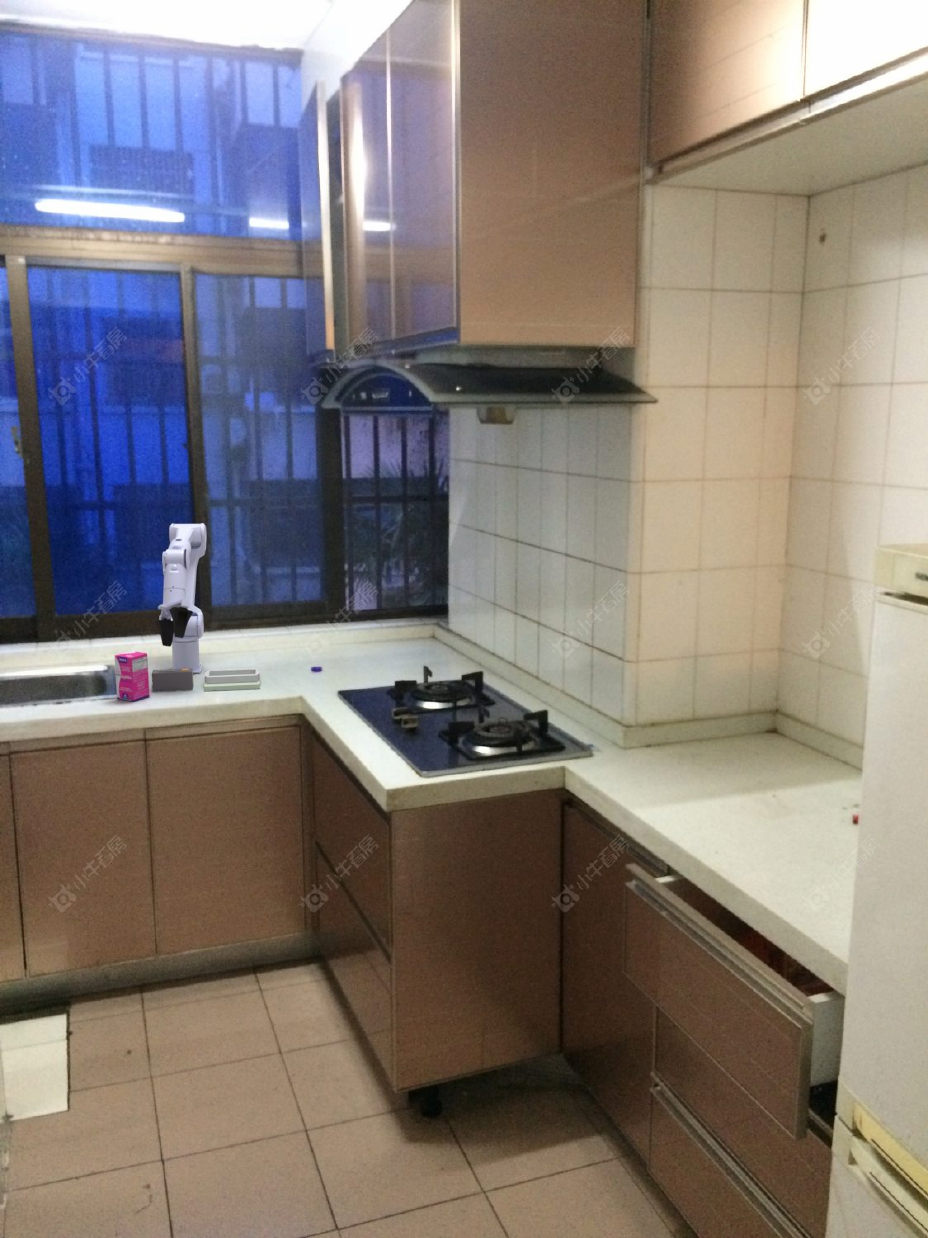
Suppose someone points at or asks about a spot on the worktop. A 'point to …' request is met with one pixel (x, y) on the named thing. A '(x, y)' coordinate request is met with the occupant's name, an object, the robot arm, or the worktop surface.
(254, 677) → the mounting board
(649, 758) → the worktop surface
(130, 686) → the supplement box
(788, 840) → the worktop surface
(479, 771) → the worktop surface
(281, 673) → the worktop surface
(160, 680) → the charcoal bar
